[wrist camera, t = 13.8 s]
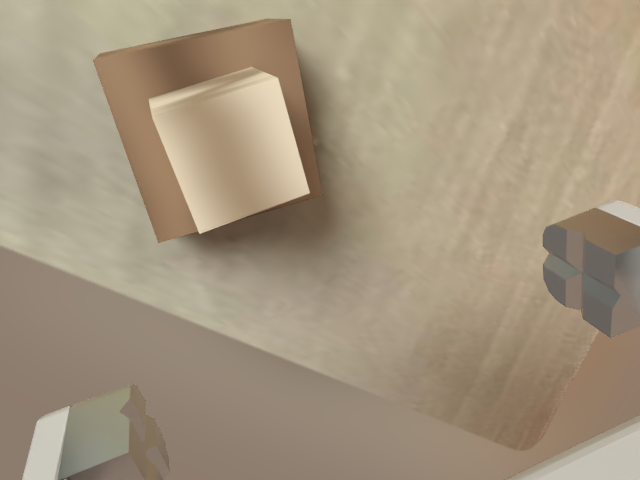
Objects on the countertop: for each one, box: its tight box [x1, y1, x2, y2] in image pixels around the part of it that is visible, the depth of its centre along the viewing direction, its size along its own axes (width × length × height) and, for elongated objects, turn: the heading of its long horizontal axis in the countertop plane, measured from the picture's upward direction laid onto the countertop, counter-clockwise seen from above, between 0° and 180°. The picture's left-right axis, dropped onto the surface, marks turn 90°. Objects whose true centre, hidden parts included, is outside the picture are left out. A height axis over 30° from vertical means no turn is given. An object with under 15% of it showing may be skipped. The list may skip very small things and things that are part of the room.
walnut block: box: [93, 19, 323, 243], centre depth 27 cm, size 9×9×5 cm
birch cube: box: [149, 67, 310, 234], centre depth 23 cm, size 5×5×5 cm
